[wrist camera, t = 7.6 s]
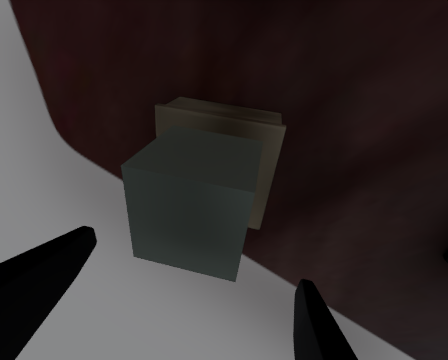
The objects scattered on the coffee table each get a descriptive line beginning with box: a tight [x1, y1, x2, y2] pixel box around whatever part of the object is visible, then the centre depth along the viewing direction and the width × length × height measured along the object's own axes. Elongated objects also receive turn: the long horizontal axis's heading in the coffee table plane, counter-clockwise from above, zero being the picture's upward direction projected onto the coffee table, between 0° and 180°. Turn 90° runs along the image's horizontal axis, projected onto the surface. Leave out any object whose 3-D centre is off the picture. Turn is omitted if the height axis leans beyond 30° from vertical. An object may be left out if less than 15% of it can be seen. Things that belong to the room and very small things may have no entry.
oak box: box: [155, 97, 286, 230], centre depth 18 cm, size 8×8×4 cm
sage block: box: [121, 125, 263, 282], centre depth 14 cm, size 6×6×6 cm
